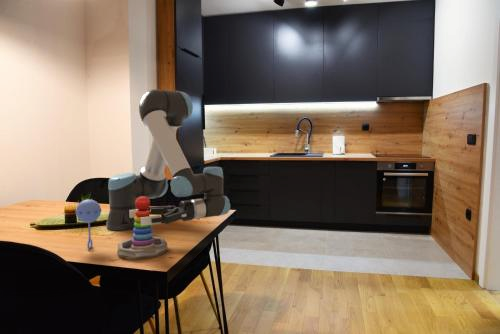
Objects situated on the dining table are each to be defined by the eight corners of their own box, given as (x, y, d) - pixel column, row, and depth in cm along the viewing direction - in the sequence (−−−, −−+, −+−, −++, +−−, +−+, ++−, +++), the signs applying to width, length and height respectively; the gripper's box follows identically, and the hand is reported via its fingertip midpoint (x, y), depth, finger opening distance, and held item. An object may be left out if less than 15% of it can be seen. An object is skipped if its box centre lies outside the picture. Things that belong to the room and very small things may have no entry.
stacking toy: (148, 253, 126) (146, 198, 125) (126, 251, 128) (124, 198, 126) (158, 245, 134) (156, 194, 132) (138, 244, 136) (136, 194, 134)
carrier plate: (106, 256, 126) (106, 248, 126) (138, 242, 142) (138, 234, 142) (147, 262, 120) (147, 253, 120) (176, 246, 136) (176, 238, 136)
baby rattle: (82, 244, 140) (80, 197, 138) (106, 243, 141) (103, 197, 139) (73, 252, 131) (70, 202, 130) (98, 251, 132) (96, 201, 130)
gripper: (206, 226, 130) (146, 236, 119) (178, 213, 151) (126, 221, 139) (205, 205, 129) (145, 213, 118) (178, 195, 150) (125, 201, 139)
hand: (135, 217), depth 129 cm, fingers open, 13 cm apart
